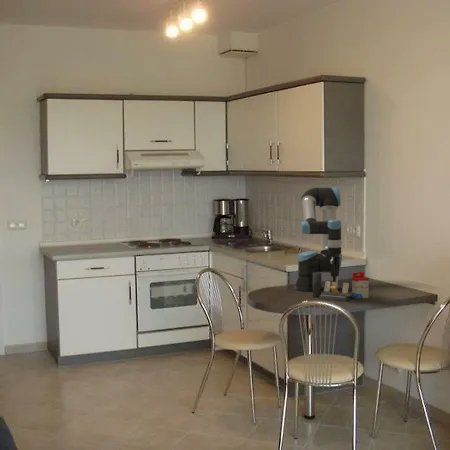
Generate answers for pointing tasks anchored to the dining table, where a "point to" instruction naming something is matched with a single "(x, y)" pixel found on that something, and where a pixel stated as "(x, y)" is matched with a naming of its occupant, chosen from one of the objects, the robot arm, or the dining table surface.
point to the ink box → (360, 286)
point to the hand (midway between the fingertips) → (335, 287)
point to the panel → (335, 296)
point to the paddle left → (327, 287)
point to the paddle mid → (334, 290)
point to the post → (316, 284)
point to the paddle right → (345, 289)
